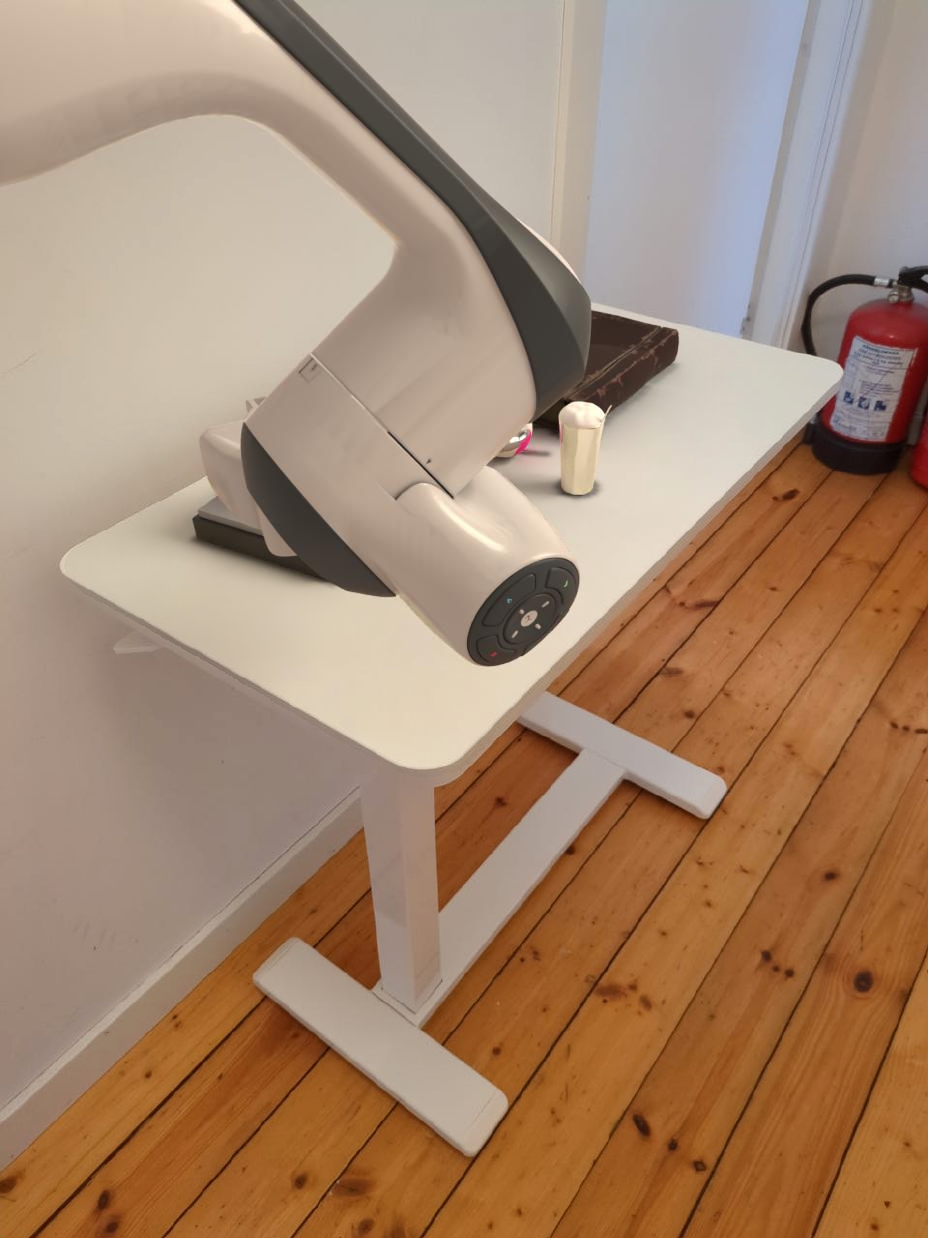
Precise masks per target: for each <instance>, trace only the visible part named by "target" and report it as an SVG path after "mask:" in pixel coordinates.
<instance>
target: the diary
mask: <svg viewBox="0 0 928 1238" xmlns="http://www.w3.org/2000/svg"><path fill="white" fill-rule="evenodd" d="M679 345H680V333H679V330H678V329H677V328H673V327H667V326H661V325H658V324H654V323H653V324H651V323H649V322H645V321H644V322H643V321H640V320H636V319H633V318H629V317H626V316H622V315H618V314H613V313H608V312H603V311H599V310H594V309H591V336H590V346H589V353H588V359H587V364H586V369H585V374H584V378H583V380H582V381H581V382H580V383H578V384H577V385H576V386H575V387H574V388H573V389H571V390H570V391H569V392H568V393H567V394H565V395H564V396H563V397H562V398H561V399H560V400H558V401H557V402H556V403H555V404H554V405H552V406H551V407H550V408H549V409H548V410H547V411H545V412H544V413H543V414H542V415H541V416H539V417H538V418H537V419H536V420H535V421H533V422H532V427H533V426H534V427H537V428H539V429H540V428H541V429H544V430H547V431H551V432H555V433H558V434H560V431H559V413H560V411H561V410H562V409H563V408H564V407H565V406H567V405H568V404H570V403H572V402H586V403H592V404H594V405H596V406H598V407H599V408H600V409H601V410H602V411H603V412H604V414H606V412H607V410H608V408H609V407H610V406H611V405H612V406H611V408H610V410H609V411H608V413H607V415H609V413H611V412H613V411H615V410H616V409H617V408H618V407H619V406H620V405H622V404H623V403H624V402H626V401H627V400H629V399H630V398H632V396H634V395H635V394H636V393H637V392H638V391H639V390H640V389H641V388H643V387H644V386H645V385H646V384H647V383H648V382H649V381H650V380H651V379H652V378H654V377H655V376H657V375H658V374H659V373H661V372H662V371H664V370H665V369H666V368H668V367H669V366H670V365H672V364H673V363H674V362H675V361H676V359H677V356H678V352H679Z"/></svg>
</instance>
